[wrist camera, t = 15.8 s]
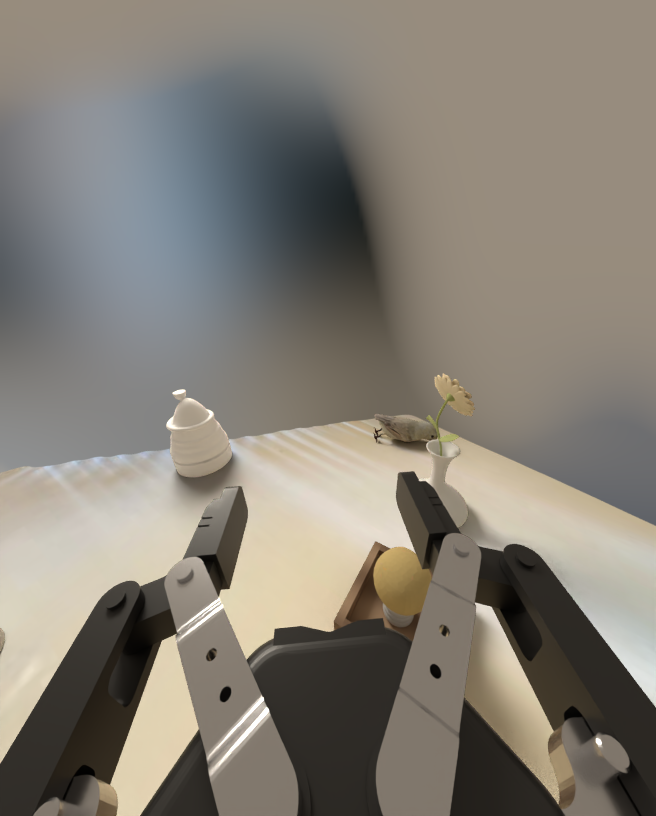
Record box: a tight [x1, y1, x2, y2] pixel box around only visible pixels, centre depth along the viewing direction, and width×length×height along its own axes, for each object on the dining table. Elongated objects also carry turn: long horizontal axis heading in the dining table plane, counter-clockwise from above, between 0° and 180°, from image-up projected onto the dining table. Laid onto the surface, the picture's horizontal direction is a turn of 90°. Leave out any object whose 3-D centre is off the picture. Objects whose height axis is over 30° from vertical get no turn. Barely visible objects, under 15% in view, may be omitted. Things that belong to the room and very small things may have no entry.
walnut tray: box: [334, 541, 433, 641], centre depth 32 cm, size 12×12×3 cm
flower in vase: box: [419, 374, 475, 528], centre depth 43 cm, size 13×11×25 cm
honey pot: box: [166, 390, 232, 477], centre depth 60 cm, size 13×13×18 cm
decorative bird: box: [374, 414, 438, 443], centre depth 66 cm, size 5×16×8 cm, turn 77°
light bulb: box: [373, 547, 432, 627], centre depth 30 cm, size 6×6×10 cm
